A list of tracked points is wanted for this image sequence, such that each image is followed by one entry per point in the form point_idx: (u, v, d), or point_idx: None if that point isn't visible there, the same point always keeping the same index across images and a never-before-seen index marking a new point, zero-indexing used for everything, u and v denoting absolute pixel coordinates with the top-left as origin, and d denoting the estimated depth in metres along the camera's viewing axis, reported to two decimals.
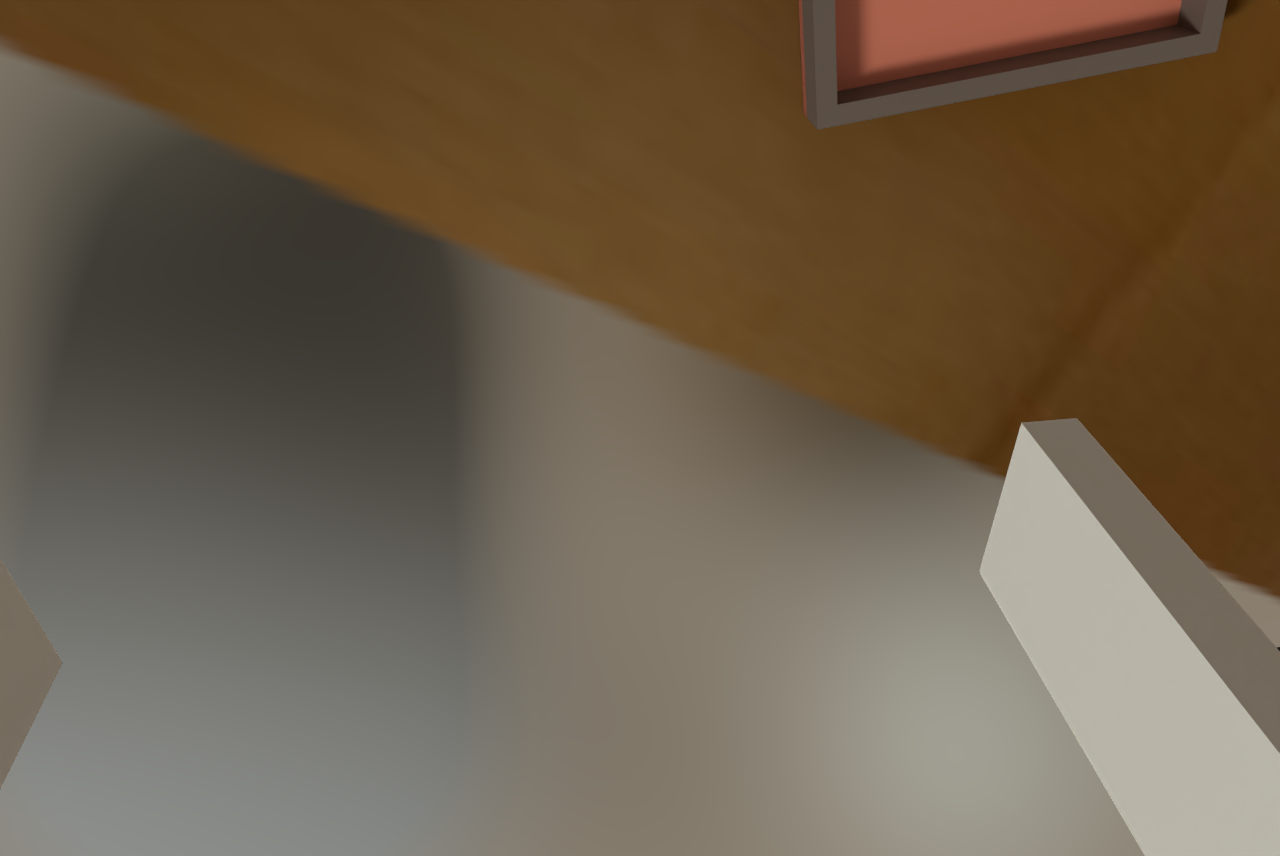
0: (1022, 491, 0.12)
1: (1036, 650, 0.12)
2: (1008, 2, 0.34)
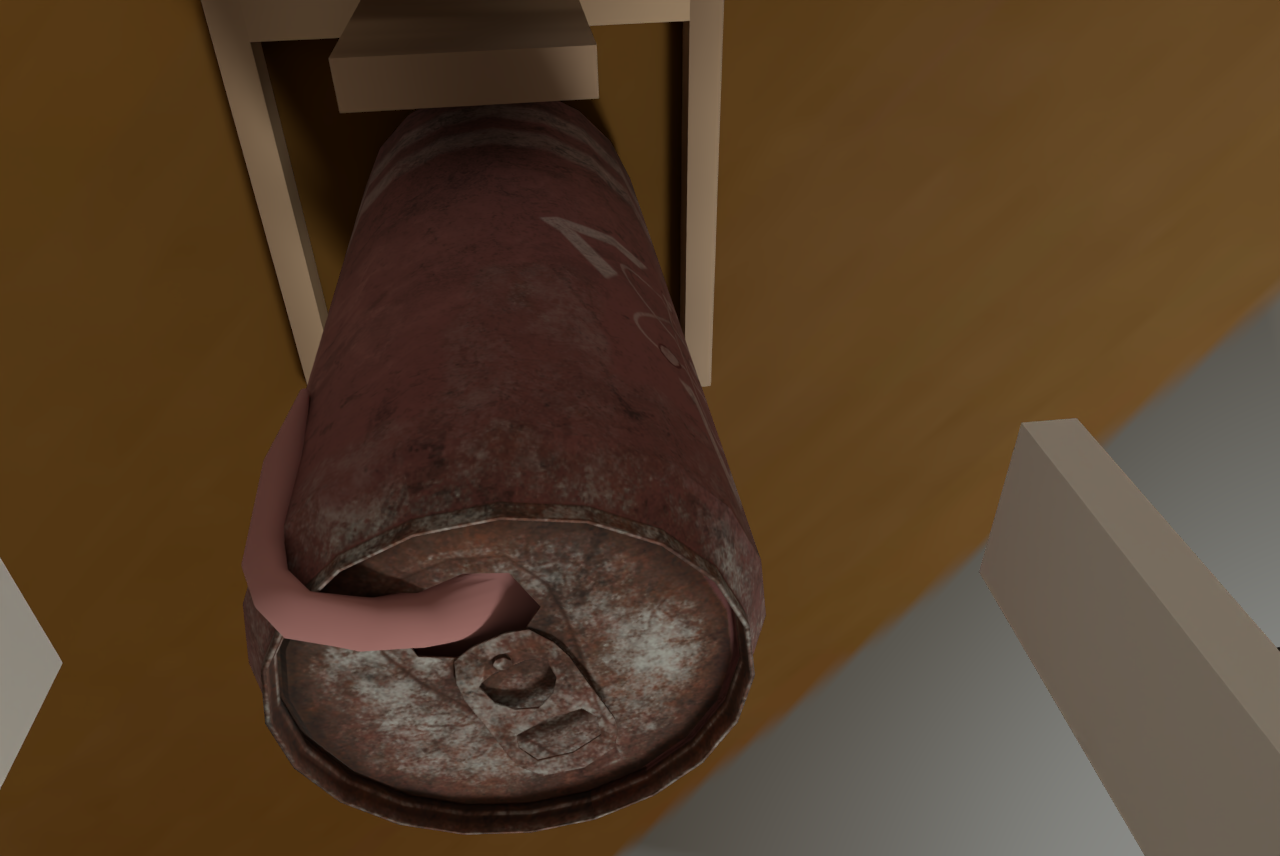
0: (1021, 491, 0.12)
1: (1036, 650, 0.12)
2: None
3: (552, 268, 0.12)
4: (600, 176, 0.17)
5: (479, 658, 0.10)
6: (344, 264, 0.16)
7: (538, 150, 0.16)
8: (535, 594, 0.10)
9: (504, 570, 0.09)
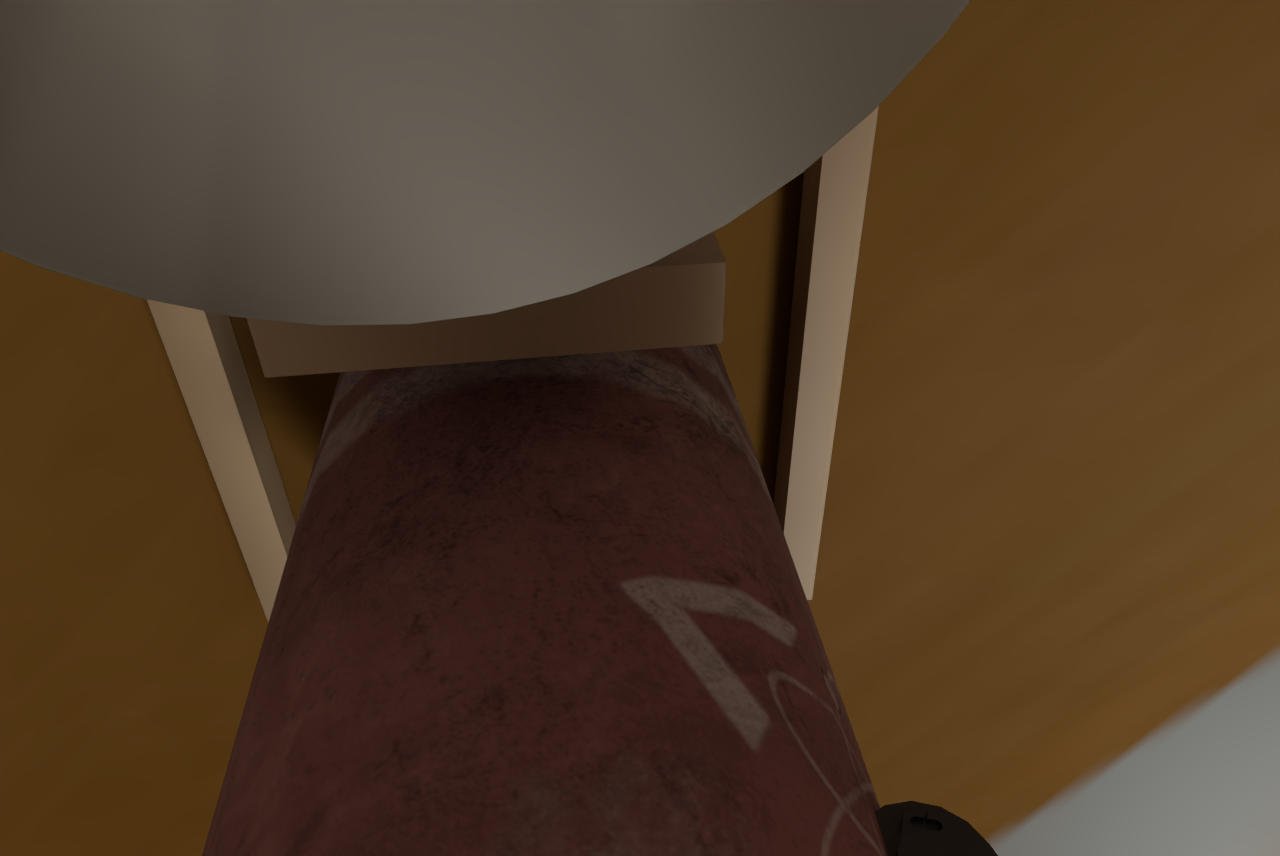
0: None
1: None
2: None
3: (657, 769, 0.06)
4: (699, 415, 0.10)
5: None
6: (287, 570, 0.10)
7: (603, 383, 0.10)
8: None
9: None
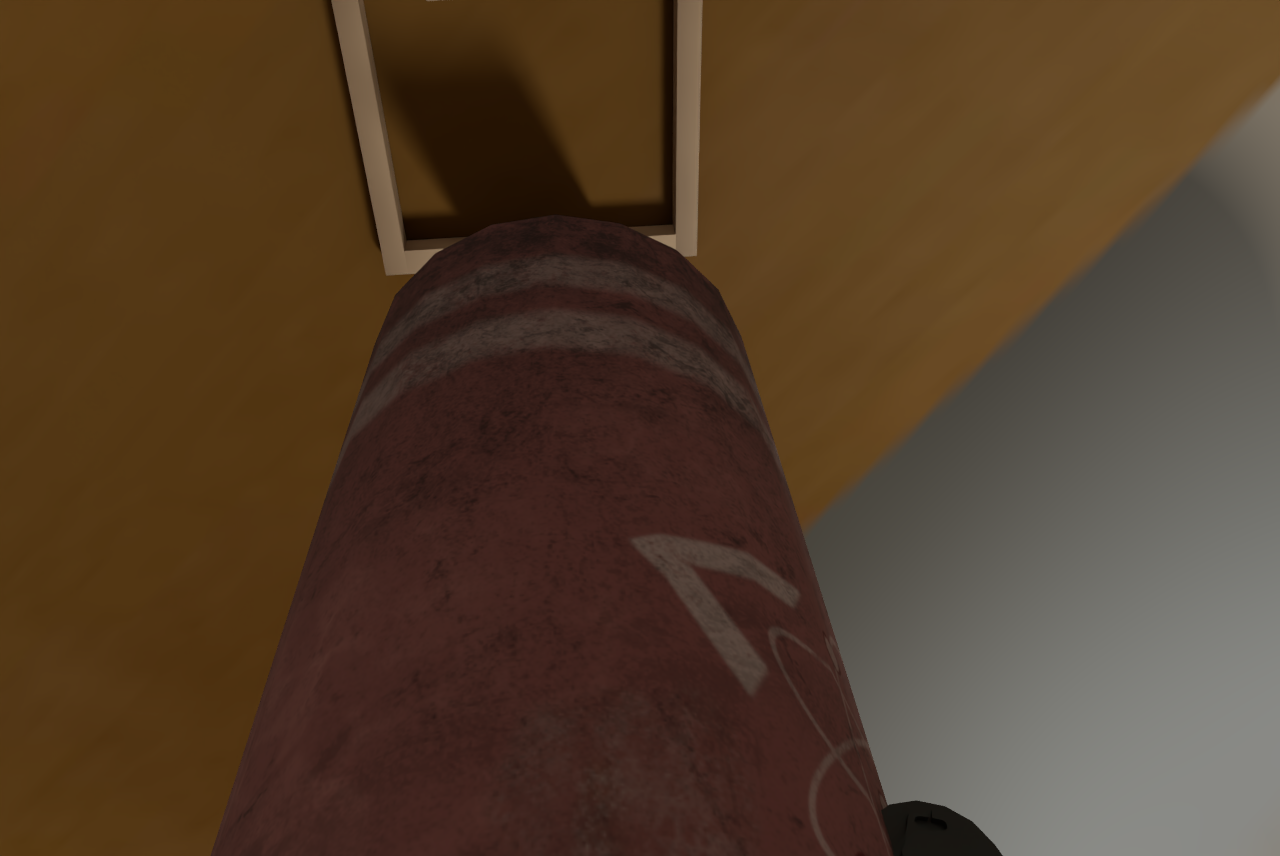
0: None
1: None
2: None
3: (656, 704, 0.07)
4: (715, 390, 0.11)
5: None
6: (319, 526, 0.10)
7: (623, 357, 0.10)
8: None
9: None
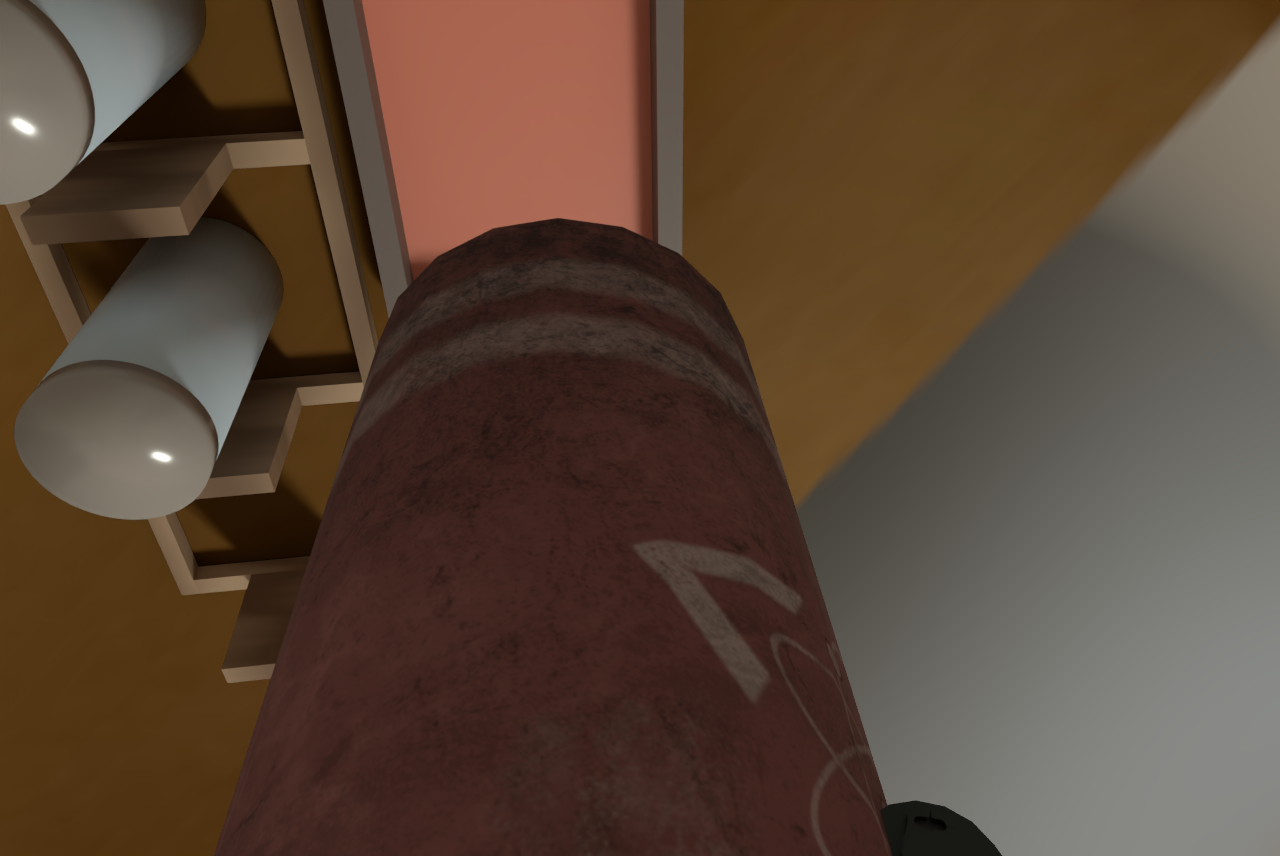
0: None
1: None
2: (585, 80, 0.28)
3: (659, 712, 0.07)
4: (718, 395, 0.11)
5: None
6: (321, 530, 0.10)
7: (625, 361, 0.10)
8: None
9: None
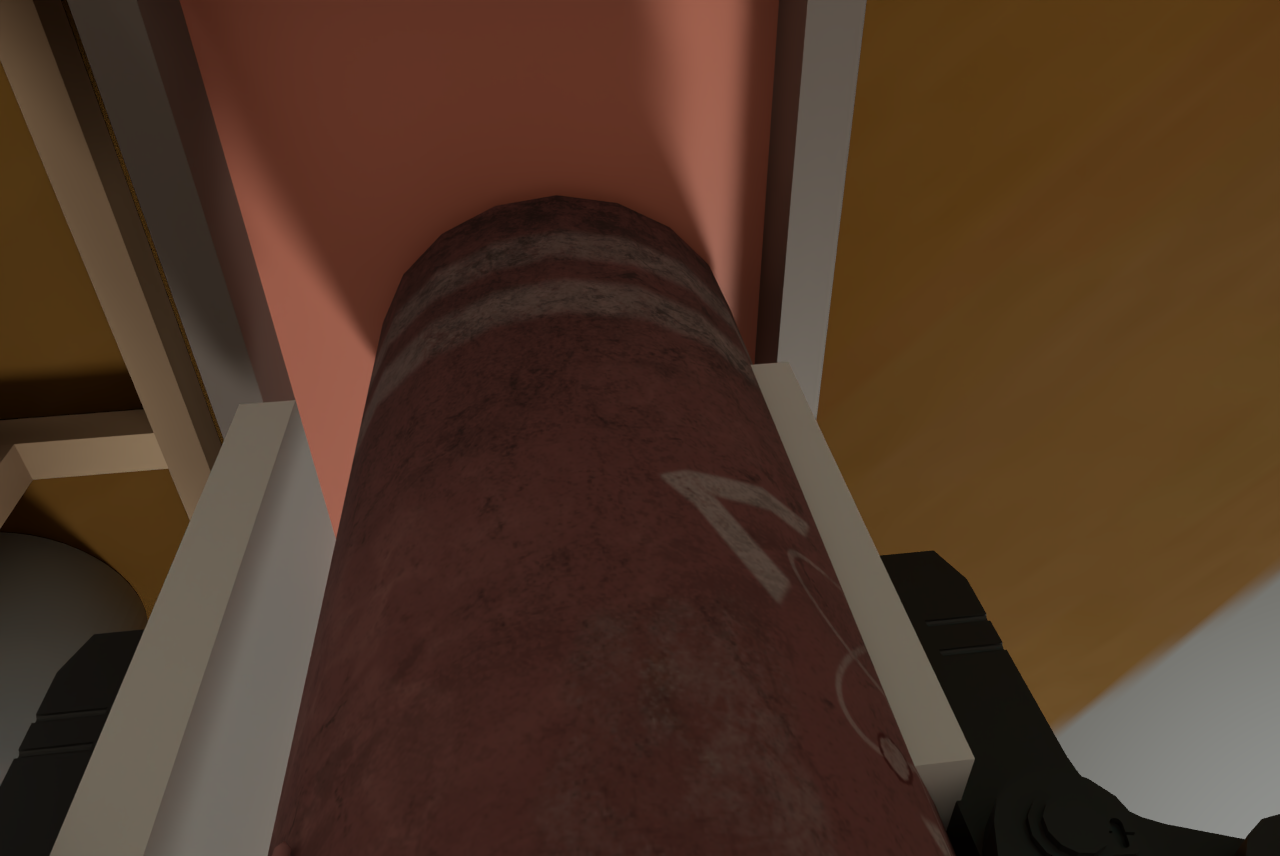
0: None
1: None
2: None
3: (700, 609, 0.07)
4: (719, 351, 0.12)
5: None
6: (353, 485, 0.11)
7: (635, 320, 0.11)
8: None
9: None
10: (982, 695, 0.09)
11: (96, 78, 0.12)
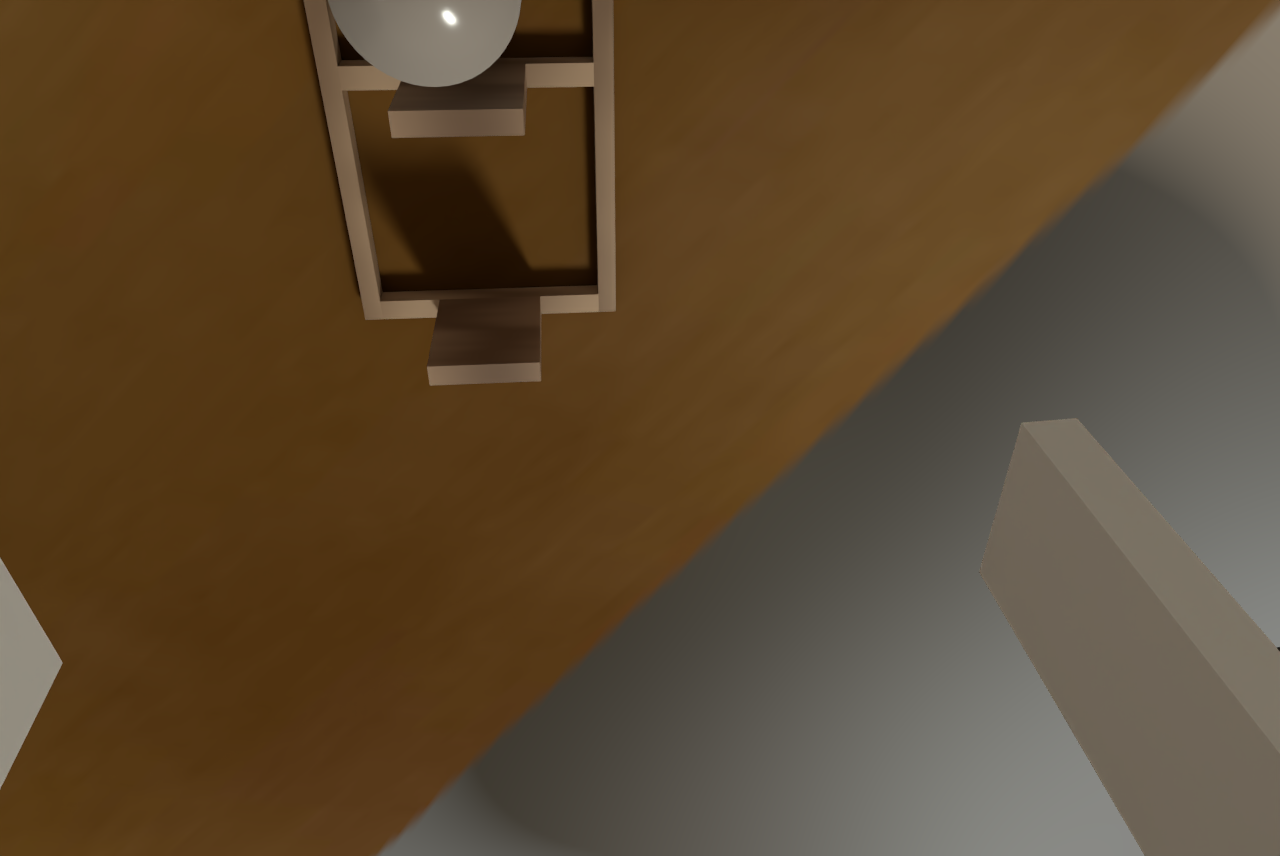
0: (1022, 491, 0.12)
1: (1036, 650, 0.12)
2: None
3: None
4: None
5: None
6: None
7: None
8: None
9: None
10: None
11: None
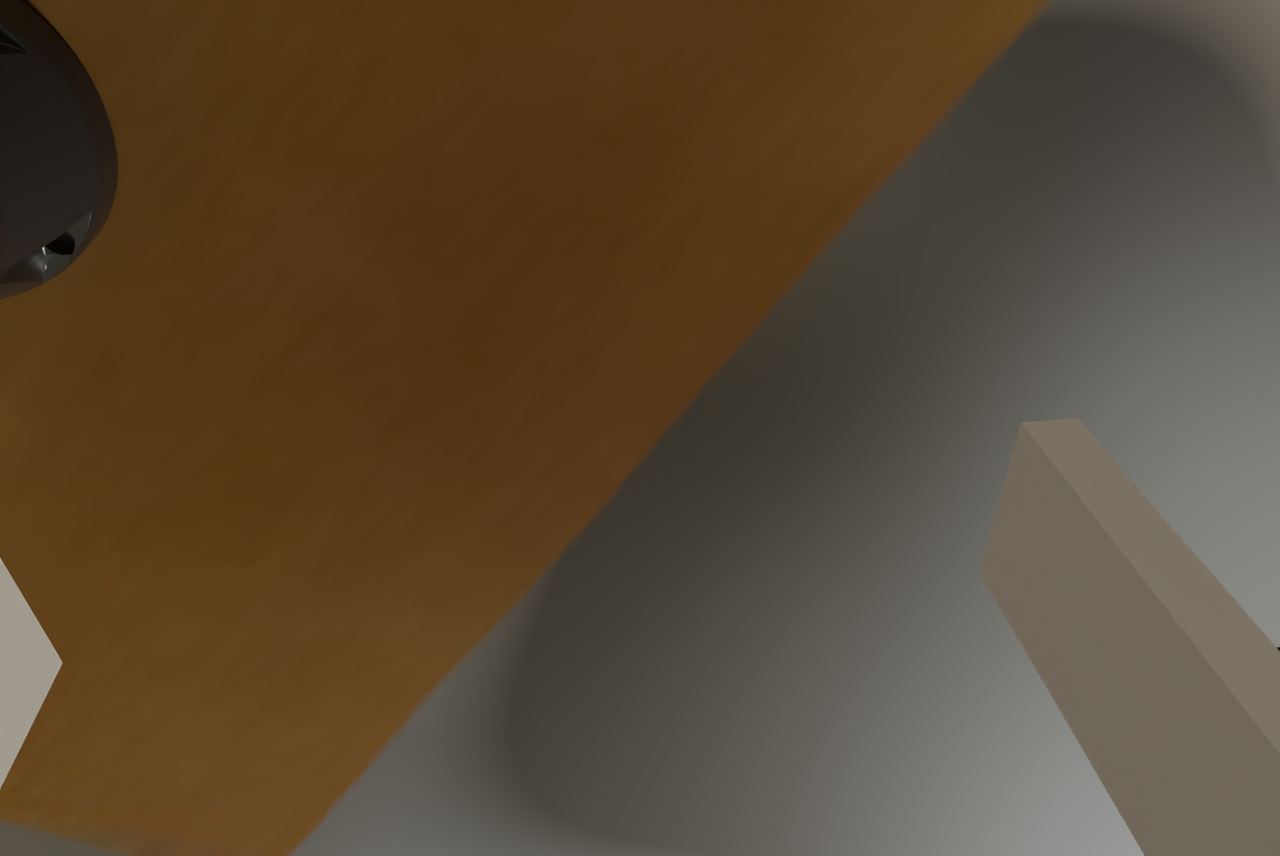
0: (1022, 491, 0.12)
1: (1036, 650, 0.12)
2: None
3: None
4: None
5: None
6: None
7: None
8: None
9: None
10: None
11: None
